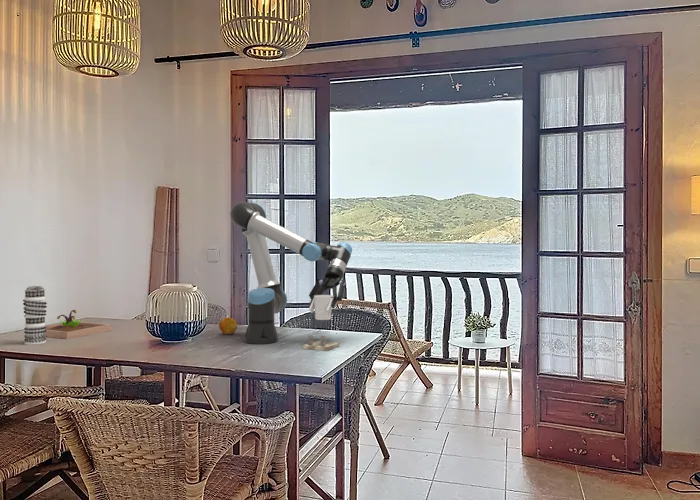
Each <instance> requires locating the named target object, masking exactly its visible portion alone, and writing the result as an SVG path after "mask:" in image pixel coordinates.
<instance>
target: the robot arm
mask: <svg viewBox="0 0 700 500" xmlns="http://www.w3.org/2000/svg"><path fill="white" fill-rule="evenodd" d="M229 213H230V214H229V215H230V219H231V221H232V223H233V224H234V225H235V226H237V227H240V230H241V233H242V235H244V236H245V237H246V240H247V245H248V248H249V252H250V255H251V261H252V264H253V267H254V272H255V276H256V280H257V284H258V285H257V287H256V288H253V289H251V290H250V291H249V292H248V296H247V306H248V307H247V308H248V310H247V311H248V312H247V313H248V314H247V317H248V324H247V327H246V329H245V330H246V331H245V335H244V343H245V344H251V345H252V344H253V345H266V344H274V343H277V342H279V334H278V331H277V330H278V329H277V327H276V325H275V314H279V313H280V312H281V311H283V310H284V309H285V308H286V306H287V304H288V296H287V294H286V291H284V290H283V288H282V285H281V282H280V281H278V280H277V278H276V273H275V269H274V267H273V262H272V258H271V255H270V250H269V247H268V242H267V239H269V240H271V241H273V242H274V243H277V244H279V245H280V246H283V247H284V248H287V249H288V250H290V251H293V252H294V253H296V254H298V255H300V256H302V257H303V258H304V259H305V260H306V261H308V262H315V261H321V260H322V261H326V262H329V265H328V266H327V269H326V272H325V275H324V278H322V279H320V278H317V279H316V282H315V284H314V285H313V287H312V289H311V290H310V292H309V294H308V296H309V298H310V302H309V304H310V306H309V308H308V310H309V312H310V313H311V314H313V313H314V312H315V308H314V296H315V295H323V293H324V292H326V291H327V290H328V289H332V298H331V300H330V303H329V305H328V308H327V312H328V314H330V313H331V314H332V311H333V308H335V307H336V304H337V302H338V301H339V302H342V300H343V296H344V291H345V287H347V283H346V281H345V279H343V276H344V274H345V270H346V268H347V266H348V263H349V261H350V259H351V255H352V253H353V248H352V246H351V245H350V244H349V243H348V242H344V241H343V242H339V243H338V244H337V245H331V244H327V243H322V242H318V241H311V240H309V239H307V238H305V237H303V236H302V235H299V234H297V233H295V232H294V231H292V230H290V229H287V228H286V227H284V226H281V225H279V224H278V223H276V222H274V221H272V220H270V219H268V218H267V212H266V211H265V209H264V207H263V206H262V205H260V204H258V203H255V202H248V201H240V202H236V203H235V204H234V205H233V206H232V207H231V210H230V212H229ZM266 238H267V239H266ZM342 279H343V280H342ZM338 286H339V288H338V291H337V287H338Z"/></svg>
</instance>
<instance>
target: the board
mask: <svg viewBox="0 0 700 500" xmlns="http://www.w3.org/2000/svg"><path fill="white" fill-rule="evenodd" d="M313 338H314V335H313V334H310V335H307V343H304V344H302V349H304V350H313V351H314V350H315V351H325V352H329V351H331V350H333V349H337V348H338V347H340V342H337V341H336V342H333V341H326V336H325V335H322V336H320V340H314V339H313Z"/></svg>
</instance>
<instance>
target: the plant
mask: <svg viewBox="0 0 700 500" xmlns="http://www.w3.org/2000/svg"><path fill="white" fill-rule="evenodd" d="M77 312H78V311H77V310H76V309H72V310H71V311H70V312H69V314H68V316H66V315H65V314H60V315H57V317H56V319H57V320H59V323H60V324H63V326H61V325H60V326H57V327H52V328H50V329H46V330H54V331H64V332H70V331H75V330H81V329H86V328H92V326H86V325H78V324H79V322H83V320H82V319H81V320H77V319H76V316H74V315H72V314H77ZM61 317H64V318H65V319H64V321H63V320H60V319H61Z"/></svg>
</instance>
